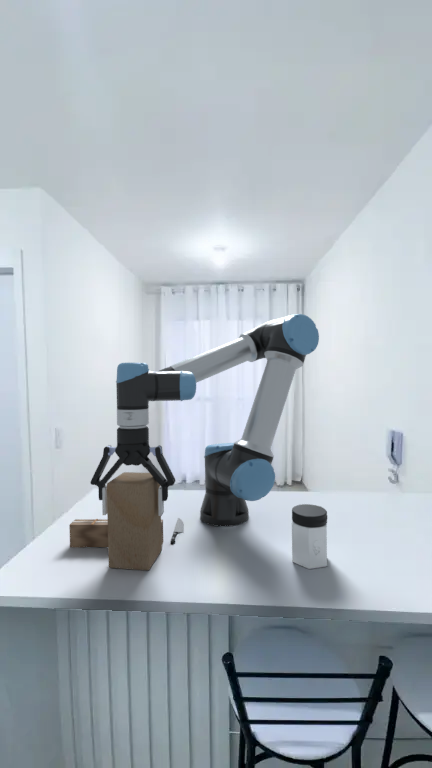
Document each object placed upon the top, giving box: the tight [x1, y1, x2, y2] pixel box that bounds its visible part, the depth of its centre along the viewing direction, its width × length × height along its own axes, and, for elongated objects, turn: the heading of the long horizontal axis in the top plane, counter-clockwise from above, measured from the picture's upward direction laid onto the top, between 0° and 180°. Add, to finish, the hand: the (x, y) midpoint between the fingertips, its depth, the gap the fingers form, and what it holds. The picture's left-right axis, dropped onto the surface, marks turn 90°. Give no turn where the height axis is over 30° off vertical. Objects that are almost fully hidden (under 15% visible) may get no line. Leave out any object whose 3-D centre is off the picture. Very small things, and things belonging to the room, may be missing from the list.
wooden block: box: [106, 471, 163, 571], centre depth 88 cm, size 10×10×20 cm
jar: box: [291, 503, 328, 570], centre depth 86 cm, size 9×8×12 cm
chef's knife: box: [170, 517, 185, 545], centre depth 105 cm, size 19×1×3 cm
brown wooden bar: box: [68, 518, 164, 548], centre depth 96 cm, size 24×4×6 cm, turn 87°
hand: (133, 513), depth 88 cm, fingers open, 13 cm apart
